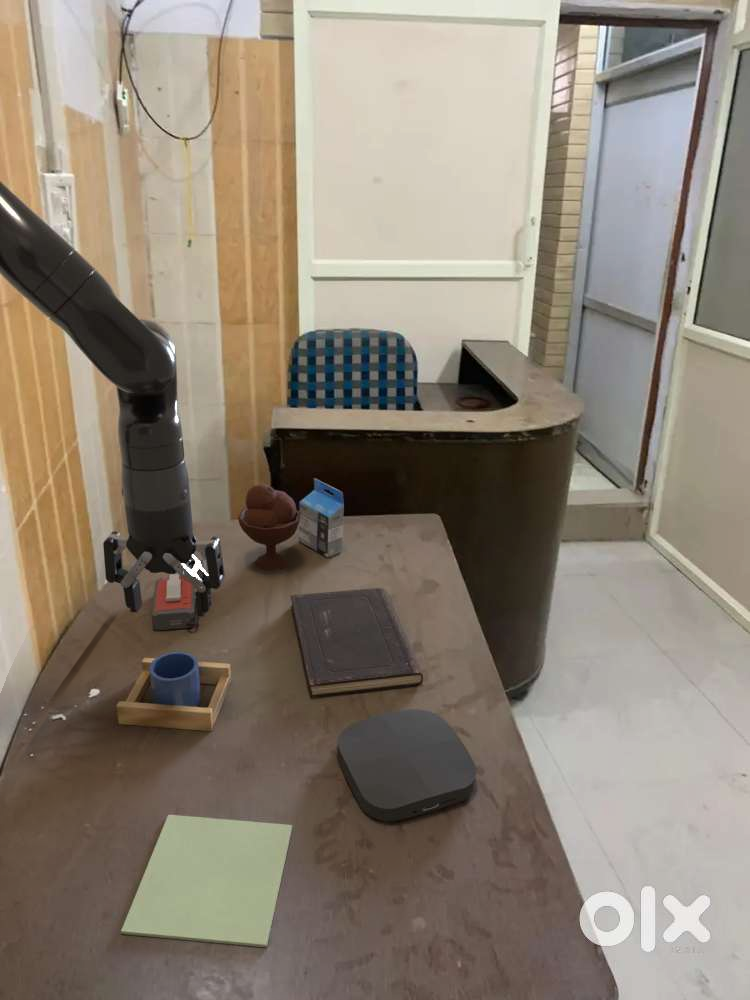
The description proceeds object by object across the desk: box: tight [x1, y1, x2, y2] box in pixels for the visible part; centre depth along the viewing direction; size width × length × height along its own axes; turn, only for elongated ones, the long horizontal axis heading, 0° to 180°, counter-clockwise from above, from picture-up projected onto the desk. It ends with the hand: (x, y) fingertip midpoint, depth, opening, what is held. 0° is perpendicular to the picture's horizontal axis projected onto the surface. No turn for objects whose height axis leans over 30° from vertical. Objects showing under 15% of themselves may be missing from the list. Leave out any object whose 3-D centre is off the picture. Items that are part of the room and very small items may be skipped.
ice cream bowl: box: [237, 483, 301, 571], centre depth 134 cm, size 11×11×15 cm
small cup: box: [149, 650, 202, 707], centre depth 101 cm, size 6×6×6 cm
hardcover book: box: [290, 587, 424, 699], centre depth 115 cm, size 16×23×2 cm
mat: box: [120, 814, 293, 948], centre depth 78 cm, size 14×14×1 cm
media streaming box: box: [336, 708, 477, 822], centre depth 92 cm, size 15×15×3 cm
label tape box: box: [298, 477, 345, 558], centre depth 141 cm, size 9×4×12 cm, turn 43°
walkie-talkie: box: [151, 559, 207, 631], centre depth 125 cm, size 9×4×20 cm
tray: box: [115, 657, 232, 732], centre depth 102 cm, size 12×10×3 cm
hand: (169, 611), depth 96 cm, fingers open, 8 cm apart
